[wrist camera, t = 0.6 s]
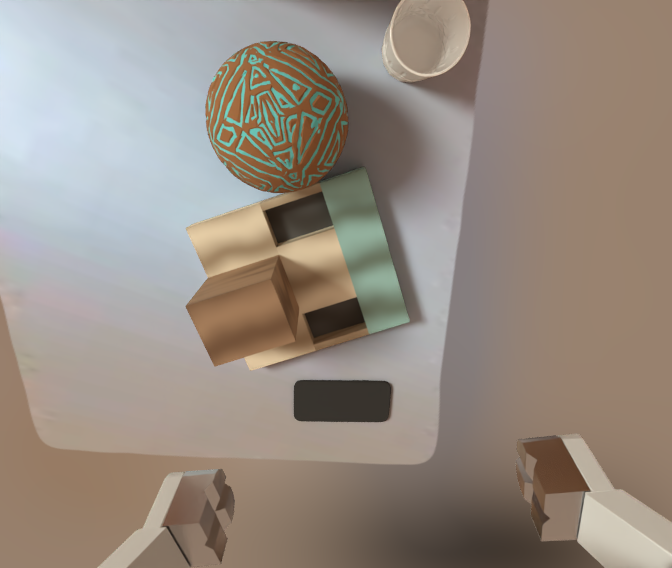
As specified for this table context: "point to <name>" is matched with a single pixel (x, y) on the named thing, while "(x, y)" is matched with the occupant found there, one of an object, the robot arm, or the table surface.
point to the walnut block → (245, 311)
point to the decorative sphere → (276, 117)
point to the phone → (341, 400)
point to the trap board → (314, 260)
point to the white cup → (425, 38)
